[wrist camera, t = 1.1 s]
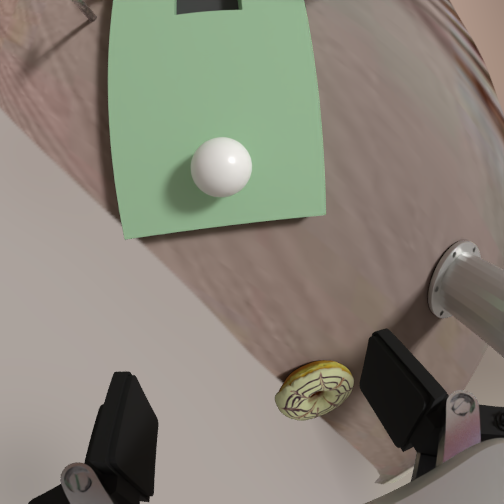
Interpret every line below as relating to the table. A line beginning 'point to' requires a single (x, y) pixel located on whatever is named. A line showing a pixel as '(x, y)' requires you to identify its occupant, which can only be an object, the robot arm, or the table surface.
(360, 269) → the table surface
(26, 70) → the table surface
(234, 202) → the mat
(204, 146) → the ball
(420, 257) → the table surface
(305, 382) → the decorated donut
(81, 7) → the flag pin
